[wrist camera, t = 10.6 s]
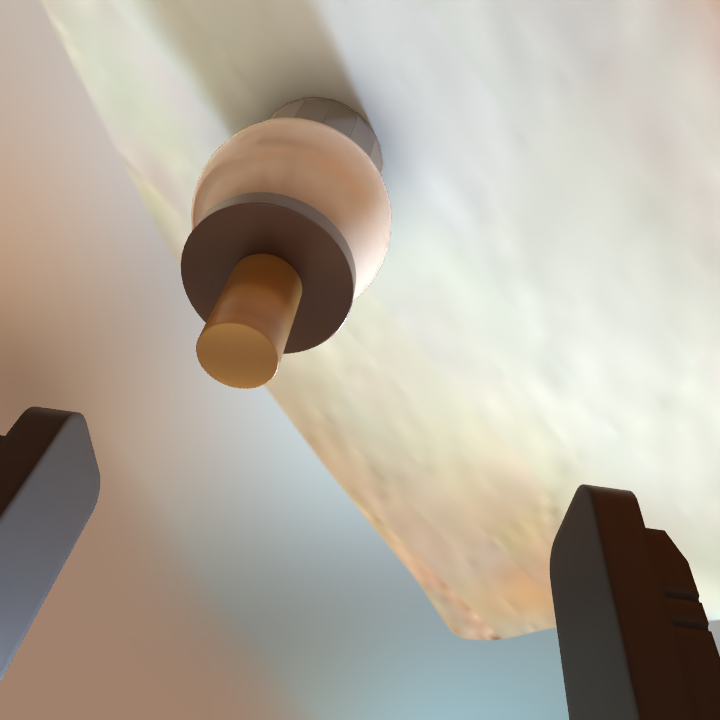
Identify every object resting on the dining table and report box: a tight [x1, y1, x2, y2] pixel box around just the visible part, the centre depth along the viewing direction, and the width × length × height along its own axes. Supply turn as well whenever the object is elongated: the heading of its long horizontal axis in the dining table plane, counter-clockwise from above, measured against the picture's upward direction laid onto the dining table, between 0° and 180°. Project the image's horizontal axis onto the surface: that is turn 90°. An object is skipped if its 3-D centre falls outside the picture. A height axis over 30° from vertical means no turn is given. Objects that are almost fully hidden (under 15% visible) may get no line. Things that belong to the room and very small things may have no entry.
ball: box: [191, 117, 392, 301], centre depth 29 cm, size 9×9×9 cm
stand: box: [268, 97, 383, 176], centre depth 34 cm, size 7×7×4 cm
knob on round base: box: [181, 192, 356, 389], centre depth 24 cm, size 7×7×6 cm
